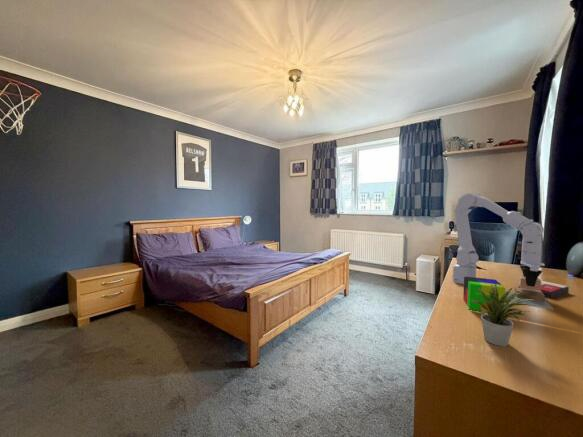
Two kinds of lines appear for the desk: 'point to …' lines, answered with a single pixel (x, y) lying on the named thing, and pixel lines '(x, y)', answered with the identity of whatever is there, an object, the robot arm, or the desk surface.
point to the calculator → (553, 289)
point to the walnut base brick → (529, 294)
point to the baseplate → (532, 302)
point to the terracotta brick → (523, 285)
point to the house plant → (499, 316)
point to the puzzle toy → (472, 289)
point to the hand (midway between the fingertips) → (529, 284)
